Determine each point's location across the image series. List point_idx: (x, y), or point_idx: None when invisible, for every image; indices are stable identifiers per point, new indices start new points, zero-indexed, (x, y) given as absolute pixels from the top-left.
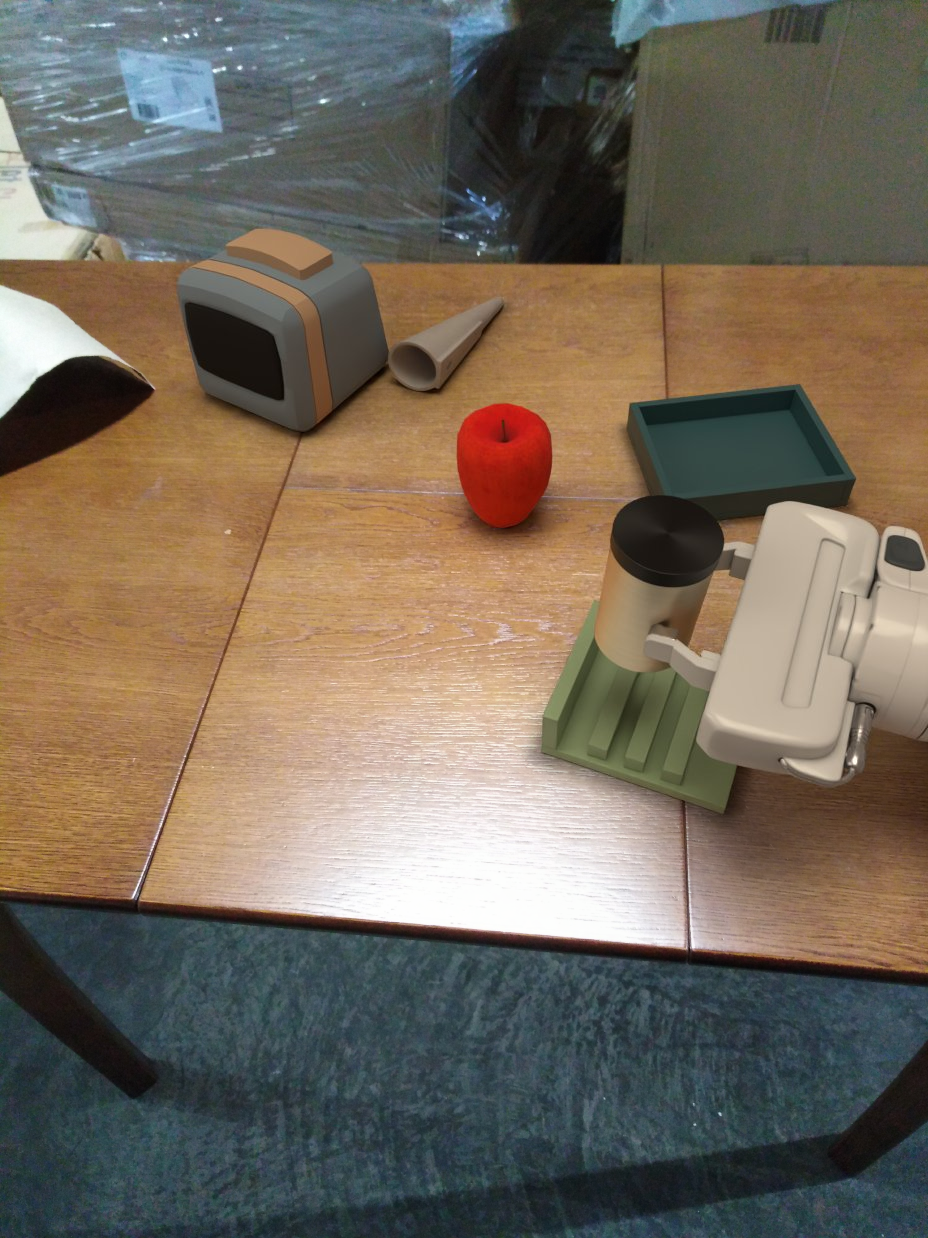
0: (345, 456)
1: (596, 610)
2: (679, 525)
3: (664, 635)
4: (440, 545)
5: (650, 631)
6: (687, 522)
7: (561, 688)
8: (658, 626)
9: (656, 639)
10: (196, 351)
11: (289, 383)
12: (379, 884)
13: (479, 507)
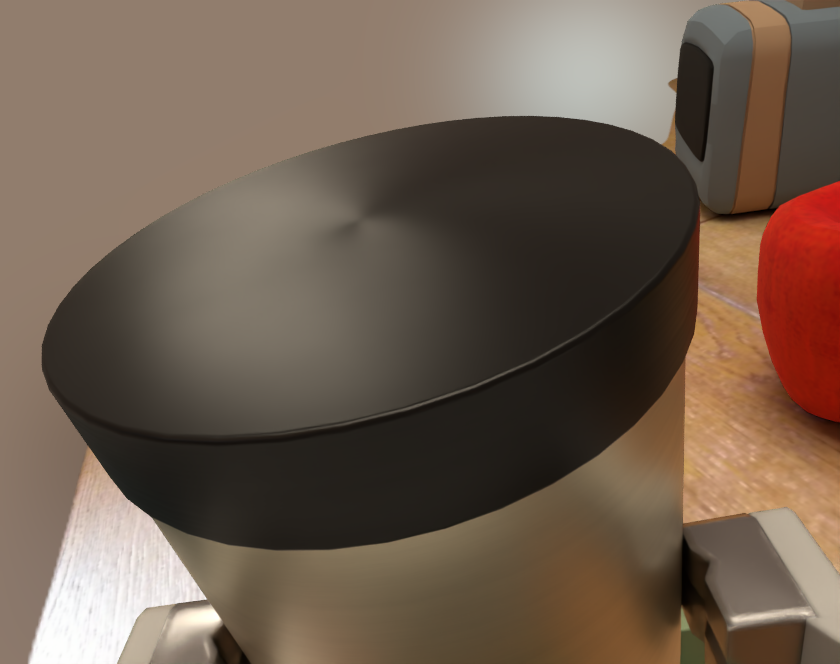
0: (728, 249)
1: (681, 608)
2: (448, 220)
3: (158, 653)
4: (690, 379)
5: (196, 601)
6: (490, 223)
7: None
8: (211, 612)
9: (140, 635)
10: (676, 105)
11: (710, 136)
12: (89, 618)
13: (767, 344)
